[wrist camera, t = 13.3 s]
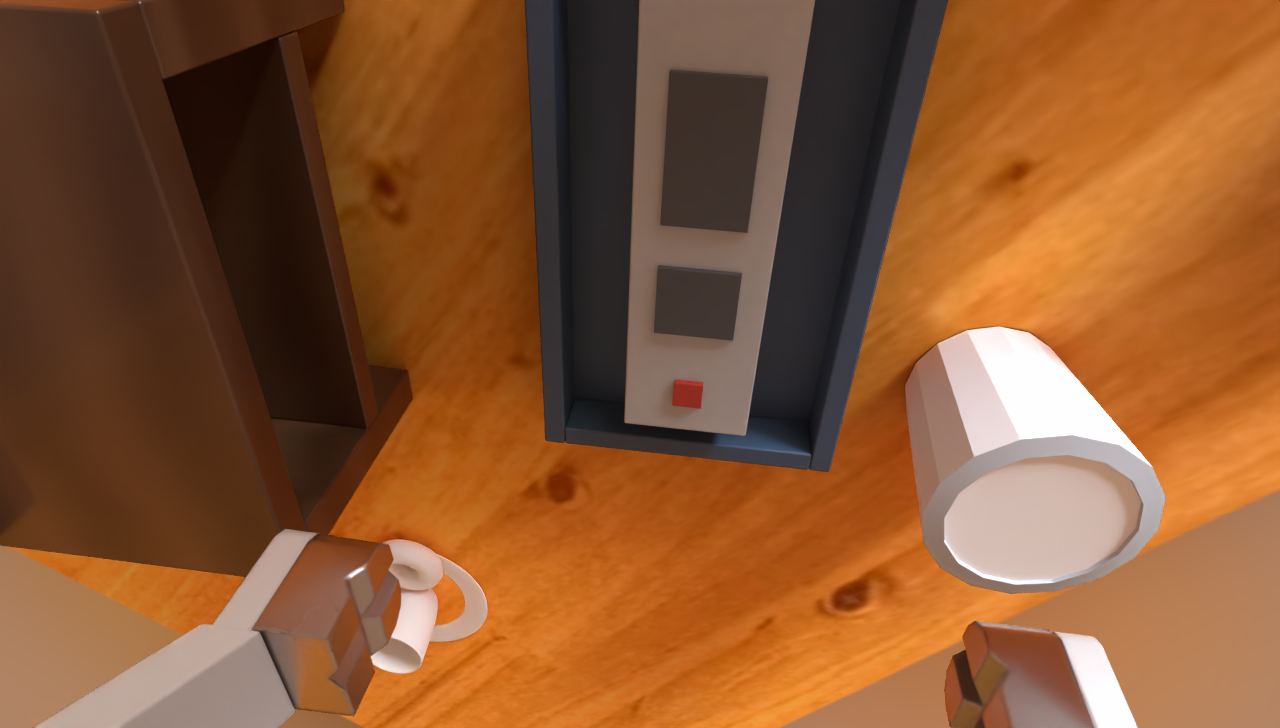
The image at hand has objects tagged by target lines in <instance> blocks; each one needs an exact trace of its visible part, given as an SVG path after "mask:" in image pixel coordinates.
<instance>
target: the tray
mask: <svg viewBox="0 0 1280 728" xmlns="http://www.w3.org/2000/svg"><path fill="white" fill-rule="evenodd" d="M947 2H948V0H815V4H814V11H813V17H812V23H811V29H810V36H809V42H808V48H807V54H806V61H805V67H804V73H803V79H802V86H801V92H800V98H799V104H798V111H797V117H796V123H795V129H794V136H793V142H792V148H791V154H790V161H789V167H788V173H787V179H786V186H785V192H784V198H783V204H782V211H781V217H780V223H779V229H778V236H777V242H776V248H775V255H774V261H773V267H772V273H771V280H770V286H769V292H768V298H767V305H766V311H765V317H764V323H763V330H762V336H761V342H760V348H759V355H758V361H757V367H756V373H755V380H754V386H753V392H752V398H751V405H750V411H749V417H748V423H747V430H746V435H745V436H741V435H731V434H722V433H713V432H704V431H695V430H685V429H676V428H667V427H658V426H649V425H640V424H630V423H625V422H624V412H625V385H626V357H627V329H628V301H629V273H630V245H631V218H632V190H633V162H634V134H635V106H636V78H637V50H638V23H639V0H525V18H526V39H527V60H528V81H529V103H530V124H531V145H532V166H533V188H534V209H535V230H536V252H537V273H538V294H539V315H540V337H541V358H542V379H543V400H544V422H545V439H546V441H551V442H560V443H564V442H565V441H566V443H569V444H579V445H588V446H597V447H606V448H615V449H624V450H633V451H642V452H651V453H660V454H669V455H679V456H688V457H697V458H706V459H715V460H724V461H733V462H742V463H751V464H760V465H770V466H779V467H788V468H797V469H806V470H807V469H808V468H809V469H810V470H815V471H824V472H829V471H830V468H831V464H832V460H833V456H834V452H835V448H836V444H837V440H838V436H839V432H840V428H841V424H842V420H843V416H844V412H845V408H846V404H847V400H848V396H849V392H850V388H851V384H852V380H853V376H854V372H855V368H856V365H857V361H858V357H859V353H860V349H861V345H862V341H863V337H864V333H865V329H866V325H867V321H868V317H869V313H870V309H871V305H872V301H873V297H874V293H875V289H876V285H877V281H878V277H879V273H880V269H881V265H882V261H883V257H884V253H885V249H886V245H887V241H888V237H889V233H890V229H891V225H892V221H893V217H894V213H895V209H896V205H897V201H898V197H899V193H900V189H901V185H902V181H903V177H904V173H905V169H906V165H907V161H908V158H909V154H910V150H911V146H912V142H913V138H914V134H915V130H916V126H917V122H918V118H919V114H920V110H921V106H922V102H923V98H924V94H925V90H926V86H927V82H928V78H929V74H930V70H931V66H932V62H933V58H934V54H935V50H936V46H937V42H938V38H939V34H940V30H941V26H942V22H943V18H944V14H945V10H946V6H947Z"/></svg>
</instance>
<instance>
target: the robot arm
mask: <svg viewBox="0 0 1280 728" xmlns="http://www.w3.org/2000/svg"><path fill="white" fill-rule="evenodd" d="M393 560H394V559H393V556H392V552H391V549H390V546H389V544H382V543H376V542H369V541H363V540H357V539H350V538H344V537H337V536H331V535H325V534H319V533H312V532H305V531H298V530H290V529H285V530H283V531H282V532H280V533H279V534H278V535H276V536H275V537H274V538H273V539H272V541H271V542H270V543H269V545H268V546H267V548H266V549H265V551H264V552H263V553H262V555H261V556H260V558H259V559H258V560H257V562H256V563H255V565H254V566H253V568H252V569H251V570H250V572H249V573H248V575H247V576H246V577H245V579H244V580H243V582H242V583H241V585H240V586H239V587H238V589H237V590H236V592H235V593H234V594H233V596H232V597H231V599H230V600H229V602H228V603H227V604H226V606H225V607H224V609H223V610H222V611H221V613H220V614H219V616H218V617H217V618H216V620H215V621H214V623H213V624H212V625H211V624H200V625H199V626H197V627H196V628H194V629H192V630H191V631H189V632H187V633H186V634H184V635H183V636H181V637H179V638H178V639H176V640H174V641H173V642H171V643H170V644H168V645H166V646H165V647H163V648H162V649H160V650H158V651H156V652H155V653H153V654H152V655H150V656H149V657H147V658H145V659H144V660H142V661H141V662H139V663H137V664H135V665H134V666H132V667H131V668H129V669H127V670H126V671H124V672H122V673H121V674H119V675H118V676H116V677H114V678H113V679H111V680H109V681H108V682H106V683H104V684H103V685H101V686H99V687H98V688H96V689H95V690H93V691H91V692H90V693H88V694H86V695H85V696H83V697H82V698H80V699H78V700H77V701H75V702H74V703H72V704H70V705H69V706H67V707H65V708H64V709H62V710H60V711H59V712H57V713H56V714H54V715H52V716H51V717H49V718H47V719H46V720H44V721H42V722H41V723H39V724H38V725H36V726H34V727H33V728H279V727H280V726H281V725H282V724H283V723H285V722H286V721H287V720H288V719H289V718H290V717H291V716H292V715H294V714H295V709H300V710H308V711H316V712H325V713H332V714H340V715H347V716H354V715H355V713H356V711H357V709H358V707H359V705H360V703H361V700H362V698H363V696H364V694H365V692H366V690H367V688H368V686H369V683H370V681H371V679H372V677H373V675H374V673H375V671H374V667H373V663H372V659H371V656H372V655H374V654H375V653H376V652H378V651H379V650H380V649H382V648H383V647H384V646H386V645H387V644H388V643H389V640H390V638H391V636H392V634H393V631H394V629H395V627H396V624H397V620H398V616H399V611H400V607H401V588H400V583H399V579H397V578H396V577H395V576H394V575H393V574H392V573H391V572H390V571H389V568H390V566H391V564H392V562H393ZM962 637H963V641H964V645H965V649H966V650H964V651H962V652H960V653H958V654H956V655H954V656H953V657H952V659H951V661H950V664H949V666H948V669H947V671H946V680H945V689H944V692H945V705H946V711H947V716H948V721H949V726H950V727H951V728H1138V727H1137V725H1136V723H1135V721H1134V718H1133V716H1132V714H1131V711H1130V709H1129V707H1128V704H1127V702H1126V700H1125V697H1124V695H1123V693H1122V690H1121V688H1120V686H1119V684H1118V681H1117V679H1116V677H1115V674H1114V672H1113V670H1112V667H1111V665H1110V663H1109V661H1108V658H1107V656H1106V654H1105V651H1104V649H1103V647H1102V645H1101V644H1100V643H1099V642H1098V641H1097V640H1096V638H1095V637H1091V636H1086V635H1078V634H1069V633H1061V632H1051V631H1049V630H1046V629H1038V628H1029V627H1021V626H1012V625H1004V624H995V623H987V622H978V621H974V622H973V623H971V624H969V625H968V627H967V628H966V630H965V632H964V634H963V636H962Z"/></svg>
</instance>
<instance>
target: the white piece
mask: <svg viewBox="0 0 1280 728" xmlns="http://www.w3.org/2000/svg"><path fill="white" fill-rule="evenodd" d="M382 544H389V546H390V549H391V552H392V556H393V559H394V560H393V562H392V564H391V566H390V568H389V571H390V572H391V573H392V574H393V575H394V576H395V577H396V578H397V579H399V583H400V588H401V607H400V611H399V616H398V620H397V624H396V627H395V629H394V631H393V634H392V636H391V638H390V640H389V643H388V644H387V645H386V646H384V647H383V648H382V649H380V650H379V651H378V652H376V653H375V654H374V655H372V656H371V659H372V663H373V665H375V666H376V667H378V668H380V669H383V670H385V671H389V672H392V673H401V674H404V673H411V672H414V671H416V670H417V669H419V668H420V666H421V664H422V662H423V659H424V656H425V653H426V650H427V647H428V644H429V641H432V642H446V641H454V640H458V639H462V638H465V637H467V636H469V635H471V634H473V633H474V632H476V631H477V630H478V629H479V628H480V627H481V626H482V625H483V623H484V622H485V620H486V617H487V613H488V604H487V600H486V597H485V594H484V592H483V590H482V589H481V587H480V586H479V584H478V583H477V582H476V580H475V579H474V578H473V577H472V576H471V575H470V574H469V573H468V572H466V571H465V570H464V569H463V568H461V567H460V566H458V565H457V564H455V563H454V562H452V561H450V560H449V559H447V558H445V557H443V556H440V555H438V554H436V553H434V552H433V551H432V550H431V549H429V548H427V547H426V546H424V545H422V544H419V543H417V542H413V541H409V540H403V539H394V540H388V541H385V542H383V543H382ZM443 573H444V574H445V575H447V576H448V577H449V578H451V579H452V580H453V581H454V582H455V583H456V584H457V585H458V587H459V588H460V589H461V591H462V593H463V595H464V598H465V609H464V611H463V613H462V615H461V616H460V617H459V618H458V619H456V620H454V621H453V622H450V623H447V624H443V625H435V622H436V617H437V612H438V599H437V595H436V594H435V592H434V591H433V590H432V589H431V588H432V587H434V586H435V585H437V584H438V583H439V582H440V580H441V578H442V576H443Z"/></svg>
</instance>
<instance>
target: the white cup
mask: <svg viewBox="0 0 1280 728" xmlns="http://www.w3.org/2000/svg"><path fill="white" fill-rule="evenodd" d="M905 397H906V412H907V420H908V428H909V435H910V443H911V451H912V458H913V466H914V474H915V481H916V489H917V497H918V505H919V512H920V520H921V528H922V535H923V543H924V544H925V546H926V547H927V549H928V550H929V552H930V553H931V555H932V556H933V558H934V559H935V561H936V562H937V563H938V565H939V566H940V568H942V569H943V570H945V571H947V572H949V573H950V574H952V575H954V576H955V577H957V578H959V579H961V580H962V581H964V582H966V583H968V584H969V585H971V586H976V587H981V588H986V589H990V590H995V591H1000V592H1005V593H1009V594H1014V593H1037V592H1055V591H1059V590H1062V589H1066V588H1069V587H1073V586H1076V585H1080V584H1083V583H1087V582H1090V581H1094V580H1097V579H1099V578H1101V577H1102V576H1104V575H1106V574H1108V573H1109V572H1111V571H1113V570H1114V569H1116V568H1118V567H1120V566H1121V565H1123V564H1125V563H1126V562H1128V561H1130V560H1132V559H1133V558H1135V556H1136V555H1137V554H1138V553H1139V552H1140V551H1141V549H1142V548H1143V547H1144V546H1145V545H1146V544H1147V542H1148V541H1149V540H1150V539H1151V538H1152V536H1153V535H1154V534H1155V533H1156V532H1157V531H1158V529H1159V526H1160V521H1161V517H1162V512H1163V508H1164V503H1165V498H1166V496H1165V494H1164V492H1163V490H1162V487H1161V485H1160V483H1159V481H1158V478H1157V476H1156V474H1155V472H1154V470H1153V467H1152V466H1151V465H1150V464H1149V462H1148V461H1147V460H1146V459H1145V458H1144V457H1143V455H1142V454H1141V453H1140V452H1139V451H1138V450H1137V448H1136V447H1135V446H1134V445H1133V444H1132V443H1131V441H1130V440H1129V439H1128V438H1127V437H1126V435H1125V434H1124V433H1123V432H1122V431H1121V430H1120V428H1119V427H1118V426H1117V425H1116V424H1115V423H1114V421H1113V420H1112V419H1111V418H1110V417H1109V416H1108V414H1107V413H1106V412H1105V411H1104V410H1103V409H1102V407H1101V406H1100V405H1099V404H1098V403H1097V402H1096V400H1095V399H1094V398H1093V397H1092V396H1091V394H1090V393H1089V392H1088V391H1087V390H1086V389H1085V387H1084V386H1083V385H1082V384H1081V383H1080V382H1079V380H1078V379H1077V378H1076V377H1075V376H1074V375H1073V373H1072V372H1071V371H1070V370H1069V369H1068V368H1067V366H1066V365H1065V364H1064V363H1063V362H1062V361H1061V359H1060V358H1059V357H1058V356H1057V355H1056V353H1055V352H1054V351H1053V350H1052V349H1051V348H1050V347H1049V346H1047V345H1046V344H1044V343H1043V342H1042V341H1040V340H1039V339H1037V338H1036V337H1034V336H1033V335H1032V334H1030V333H1028V332H1023V331H1019V330H1014V329H1009V328H1004V327H990V328H982V329H973V330H966V331H964V332H962V333H959V334H957V335H955V336H953V337H950V338H948V339H946V340H944V341H941V342H939V343H937V344H936V345H935V346H934V347H933V348H932V349H931V350H929V351H928V352H927V353H926V354H925V355H924V356H923V357H922V358H921V359H920V360H918V361H917V362H916V364H915V366H914V368H913V370H912V372H911V374H910V376H909V378H908V380H907V383H906V385H905Z"/></svg>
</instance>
